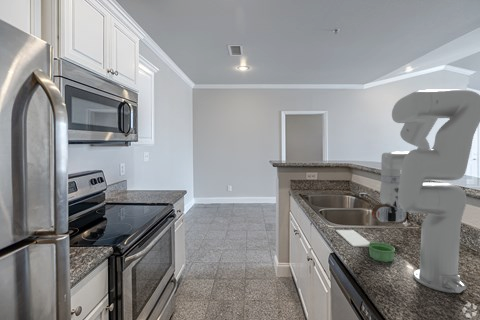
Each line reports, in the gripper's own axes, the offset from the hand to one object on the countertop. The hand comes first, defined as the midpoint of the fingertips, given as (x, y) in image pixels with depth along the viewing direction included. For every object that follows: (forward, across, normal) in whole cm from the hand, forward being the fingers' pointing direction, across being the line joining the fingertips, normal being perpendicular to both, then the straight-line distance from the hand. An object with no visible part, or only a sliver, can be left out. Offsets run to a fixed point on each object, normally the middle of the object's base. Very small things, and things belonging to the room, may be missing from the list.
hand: (389, 219), depth 116 cm
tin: (+2, 0, 0) cm, 2 cm away
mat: (+10, +3, +15) cm, 18 cm away
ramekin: (+11, -17, +13) cm, 24 cm away
